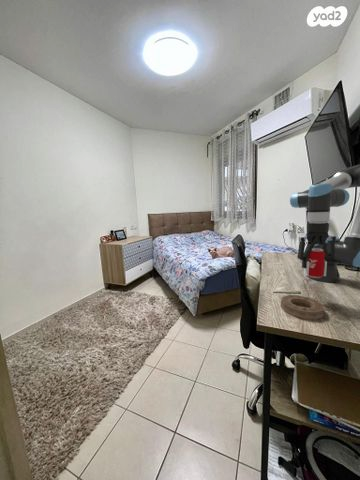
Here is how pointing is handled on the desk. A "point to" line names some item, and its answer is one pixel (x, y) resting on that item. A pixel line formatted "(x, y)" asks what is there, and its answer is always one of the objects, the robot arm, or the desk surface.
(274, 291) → the lace cord
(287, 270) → the desk surface
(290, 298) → the brown flat ring
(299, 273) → the desk surface
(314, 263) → the beverage can
